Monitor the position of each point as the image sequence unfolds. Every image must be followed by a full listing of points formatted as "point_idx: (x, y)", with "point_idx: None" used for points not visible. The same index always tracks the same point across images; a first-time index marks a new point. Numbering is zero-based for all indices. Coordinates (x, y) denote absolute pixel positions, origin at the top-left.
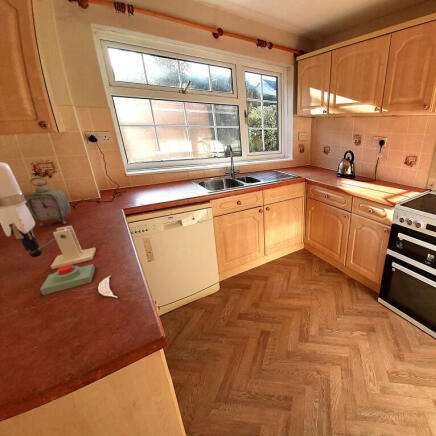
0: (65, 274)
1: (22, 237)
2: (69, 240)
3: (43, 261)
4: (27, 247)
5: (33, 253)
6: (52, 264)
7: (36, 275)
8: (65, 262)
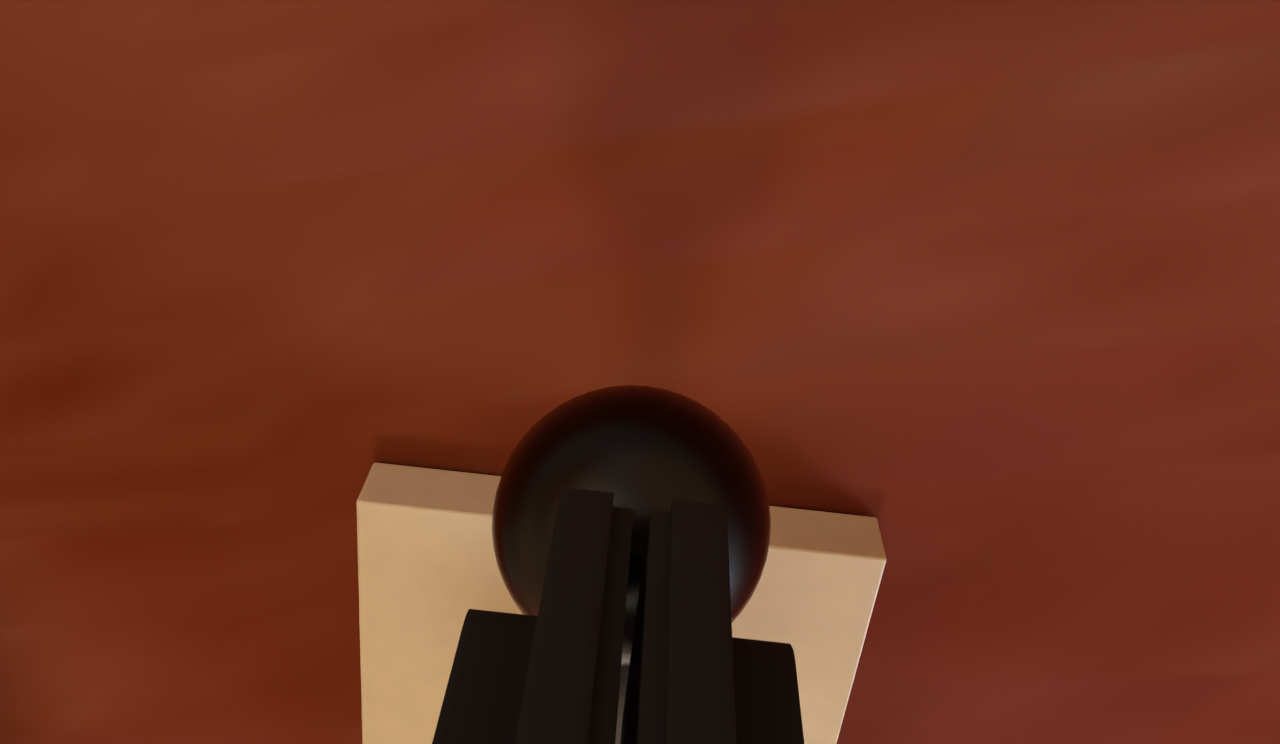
0: None
1: None
2: None
3: (947, 281)
4: (460, 647)
5: (497, 528)
6: (428, 521)
7: (234, 257)
8: (382, 681)
